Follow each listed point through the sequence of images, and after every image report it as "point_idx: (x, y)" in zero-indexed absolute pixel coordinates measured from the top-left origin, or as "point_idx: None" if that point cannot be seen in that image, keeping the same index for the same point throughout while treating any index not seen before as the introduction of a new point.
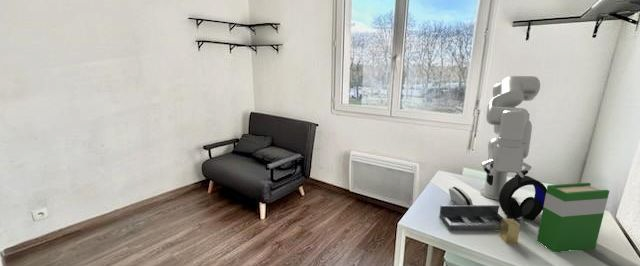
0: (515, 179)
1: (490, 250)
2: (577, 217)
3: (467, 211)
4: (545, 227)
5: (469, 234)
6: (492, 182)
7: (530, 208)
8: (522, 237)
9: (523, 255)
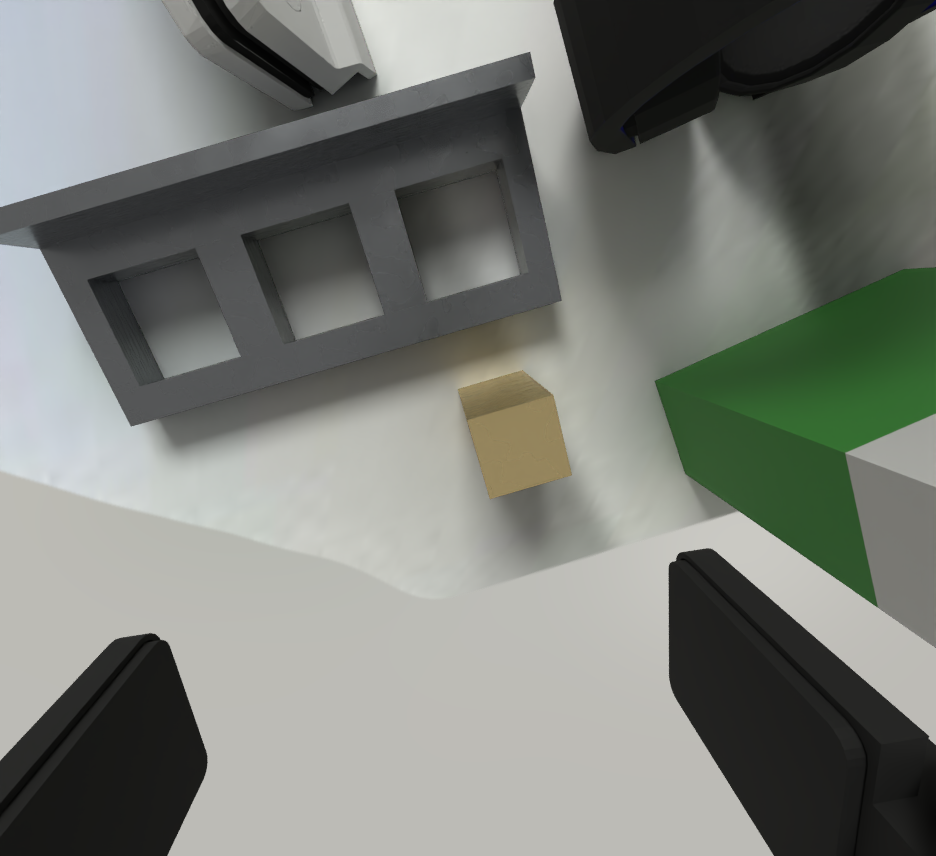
0: (746, 693)
1: (375, 549)
2: None
3: (256, 180)
4: (733, 445)
5: (281, 425)
6: (173, 836)
7: (815, 34)
8: (590, 364)
9: (525, 541)
